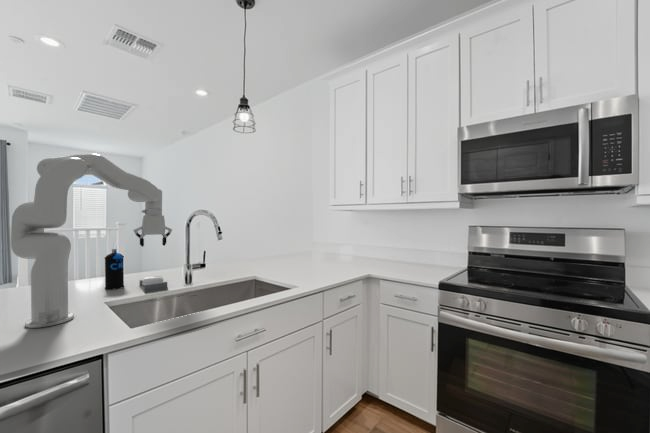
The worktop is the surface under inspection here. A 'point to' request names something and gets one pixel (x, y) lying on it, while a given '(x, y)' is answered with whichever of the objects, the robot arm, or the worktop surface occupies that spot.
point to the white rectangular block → (152, 280)
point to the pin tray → (153, 286)
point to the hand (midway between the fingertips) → (153, 245)
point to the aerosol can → (114, 271)
